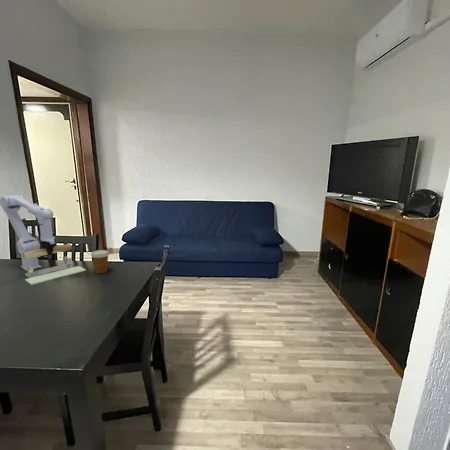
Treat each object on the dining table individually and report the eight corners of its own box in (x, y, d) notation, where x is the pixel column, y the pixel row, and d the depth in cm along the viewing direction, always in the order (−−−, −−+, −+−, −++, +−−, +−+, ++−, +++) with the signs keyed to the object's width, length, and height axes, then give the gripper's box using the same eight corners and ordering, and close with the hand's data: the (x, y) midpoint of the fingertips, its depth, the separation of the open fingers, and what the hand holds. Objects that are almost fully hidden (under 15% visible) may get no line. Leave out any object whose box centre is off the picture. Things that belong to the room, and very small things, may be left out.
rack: (25, 274, 158) (23, 265, 157) (68, 264, 176) (67, 255, 175) (29, 278, 154) (28, 268, 153) (73, 267, 172) (72, 258, 171)
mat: (25, 280, 151) (25, 279, 151) (78, 266, 173) (78, 266, 173) (31, 285, 146) (31, 284, 146) (85, 270, 167) (85, 269, 167)
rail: (23, 257, 154) (22, 252, 154) (69, 248, 173) (69, 243, 172) (25, 259, 153) (24, 253, 152) (71, 249, 171) (71, 244, 170)
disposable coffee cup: (105, 275, 162) (104, 254, 159) (89, 274, 162) (87, 254, 159) (112, 269, 171) (111, 250, 168) (96, 268, 171) (95, 249, 169)
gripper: (59, 231, 159) (61, 254, 161) (48, 227, 168) (51, 250, 170) (45, 233, 153) (48, 257, 156) (35, 229, 162) (38, 252, 165)
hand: (48, 253), depth 163 cm, fingers closed on rail, 3 cm apart
